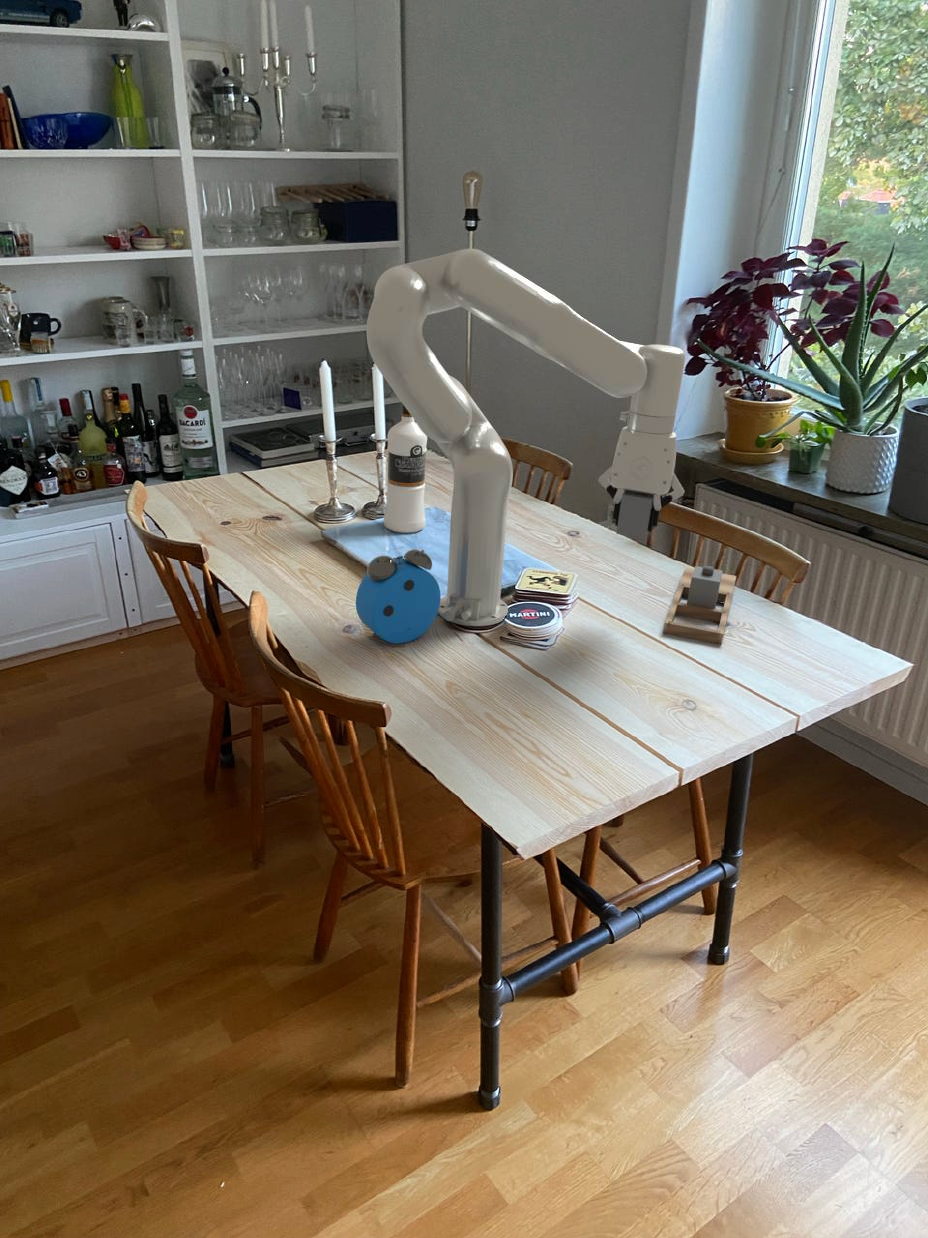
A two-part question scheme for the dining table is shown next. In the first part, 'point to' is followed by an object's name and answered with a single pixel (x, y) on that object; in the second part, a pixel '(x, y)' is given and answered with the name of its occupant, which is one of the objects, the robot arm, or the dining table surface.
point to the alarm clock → (398, 597)
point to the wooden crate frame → (699, 610)
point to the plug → (634, 514)
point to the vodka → (406, 476)
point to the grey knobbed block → (704, 587)
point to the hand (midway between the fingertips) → (634, 525)
